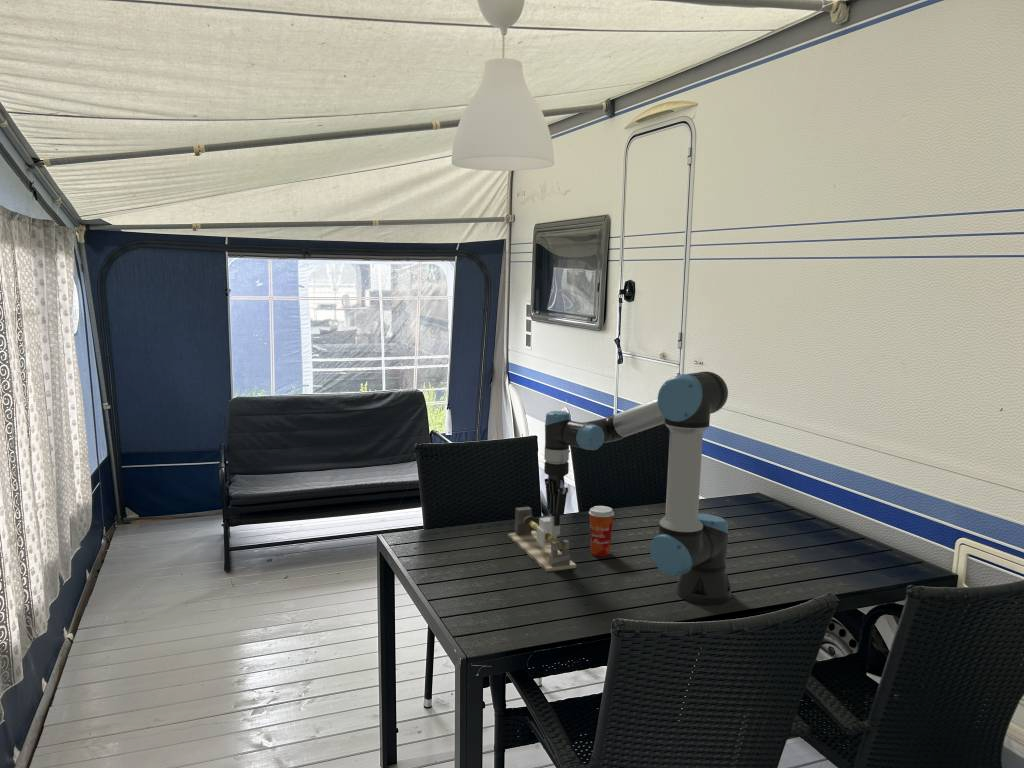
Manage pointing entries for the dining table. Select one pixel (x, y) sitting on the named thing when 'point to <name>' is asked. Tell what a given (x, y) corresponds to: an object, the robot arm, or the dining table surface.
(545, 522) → the sleeve
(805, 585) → the dining table surface
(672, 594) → the dining table surface
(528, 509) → the cord rig
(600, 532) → the coffee cup
